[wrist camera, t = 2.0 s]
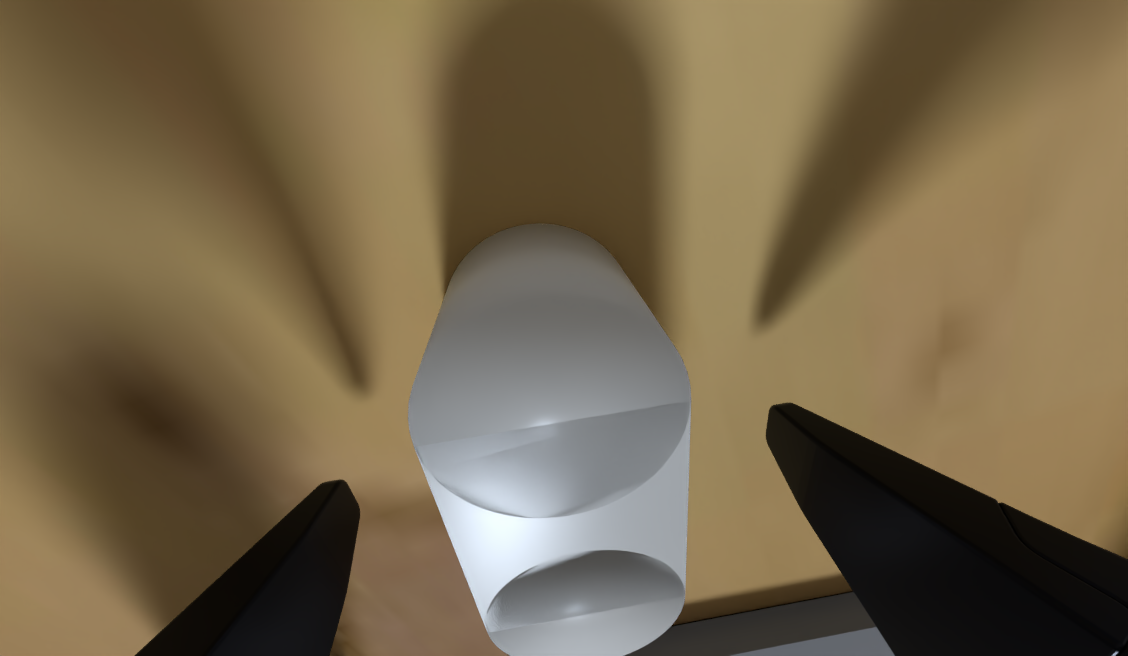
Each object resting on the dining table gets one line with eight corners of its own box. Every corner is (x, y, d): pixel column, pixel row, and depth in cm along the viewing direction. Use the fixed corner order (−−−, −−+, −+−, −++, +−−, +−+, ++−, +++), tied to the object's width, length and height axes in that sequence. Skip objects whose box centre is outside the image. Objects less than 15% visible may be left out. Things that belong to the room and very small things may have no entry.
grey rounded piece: (626, 209, 8) (695, 270, 5) (643, 561, 14) (682, 695, 11) (421, 239, 8) (365, 322, 5) (521, 584, 13) (524, 725, 10)
